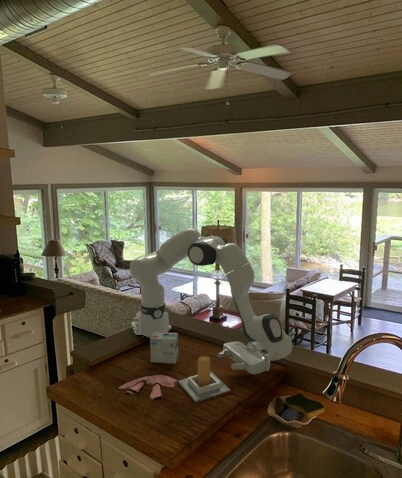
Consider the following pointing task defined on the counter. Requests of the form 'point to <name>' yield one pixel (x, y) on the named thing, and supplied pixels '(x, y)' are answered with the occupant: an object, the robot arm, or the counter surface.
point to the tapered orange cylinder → (203, 371)
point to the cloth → (157, 379)
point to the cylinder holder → (206, 391)
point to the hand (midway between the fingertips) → (225, 361)
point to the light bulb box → (164, 347)
